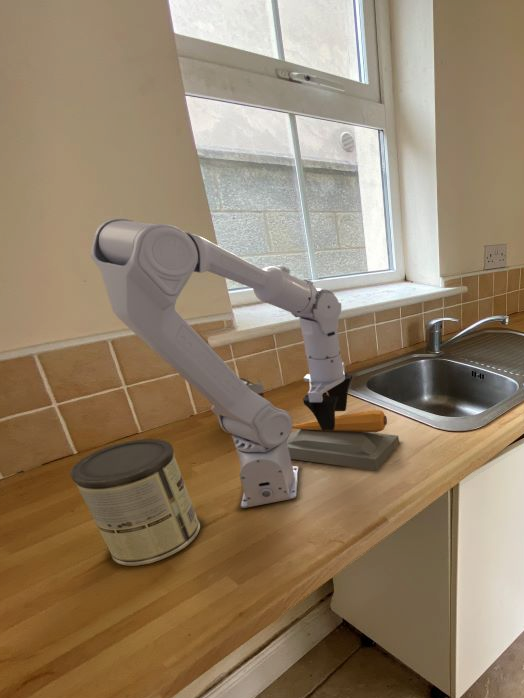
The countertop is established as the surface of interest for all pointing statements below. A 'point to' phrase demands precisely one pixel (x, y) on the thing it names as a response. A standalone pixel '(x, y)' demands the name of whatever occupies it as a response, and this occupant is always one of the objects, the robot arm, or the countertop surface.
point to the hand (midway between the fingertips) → (334, 419)
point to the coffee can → (137, 500)
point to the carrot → (352, 422)
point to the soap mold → (342, 447)
